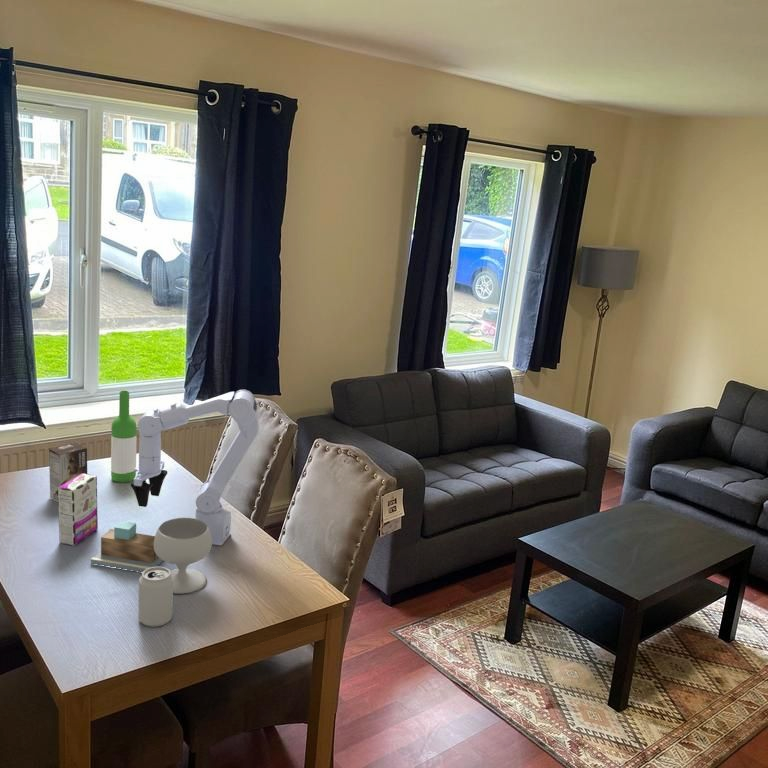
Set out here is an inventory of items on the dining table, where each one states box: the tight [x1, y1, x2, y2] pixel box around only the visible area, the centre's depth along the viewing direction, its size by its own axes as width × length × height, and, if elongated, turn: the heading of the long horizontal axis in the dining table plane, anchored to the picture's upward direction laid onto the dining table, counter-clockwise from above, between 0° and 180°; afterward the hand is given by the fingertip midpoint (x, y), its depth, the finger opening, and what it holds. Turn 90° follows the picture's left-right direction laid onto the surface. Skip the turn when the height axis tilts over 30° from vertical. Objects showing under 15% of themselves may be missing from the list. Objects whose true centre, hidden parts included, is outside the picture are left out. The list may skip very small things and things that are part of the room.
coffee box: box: [48, 442, 88, 503], centre depth 224 cm, size 9×6×16 cm
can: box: [138, 566, 174, 628], centre depth 167 cm, size 8×8×12 cm
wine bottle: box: [110, 390, 138, 483], centre depth 239 cm, size 8×8×30 cm
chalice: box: [154, 517, 213, 595], centre depth 183 cm, size 14×14×15 cm
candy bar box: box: [57, 473, 99, 547], centre depth 200 cm, size 11×5×16 cm, turn 168°
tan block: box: [100, 528, 157, 563], centre depth 192 cm, size 14×5×5 cm, turn 82°
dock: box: [90, 550, 164, 572], centre depth 193 cm, size 16×11×2 cm
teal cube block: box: [113, 520, 137, 540], centre depth 191 cm, size 4×4×3 cm
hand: (148, 500), depth 205 cm, fingers open, 7 cm apart
